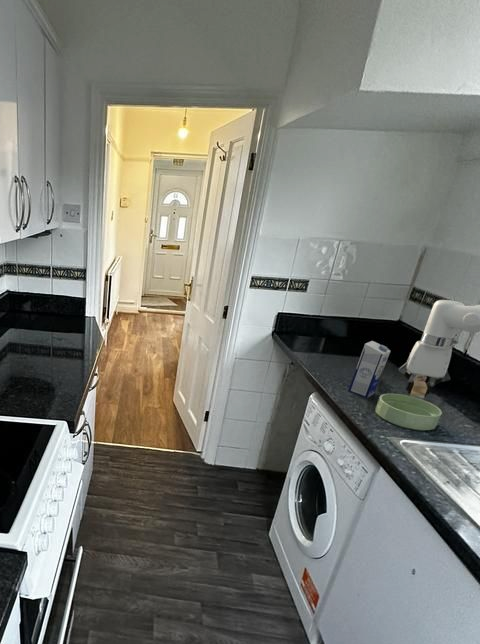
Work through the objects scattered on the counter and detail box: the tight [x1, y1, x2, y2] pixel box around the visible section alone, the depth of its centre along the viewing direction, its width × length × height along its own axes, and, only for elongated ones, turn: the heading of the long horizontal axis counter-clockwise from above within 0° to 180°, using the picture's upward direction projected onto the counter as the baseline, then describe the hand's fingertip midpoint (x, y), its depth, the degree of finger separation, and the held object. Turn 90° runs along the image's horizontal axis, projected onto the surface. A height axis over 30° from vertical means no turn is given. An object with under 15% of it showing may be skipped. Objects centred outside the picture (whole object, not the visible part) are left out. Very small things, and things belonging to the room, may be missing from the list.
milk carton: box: [347, 340, 391, 399], centre depth 154 cm, size 7×7×20 cm
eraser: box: [409, 380, 427, 399], centre depth 136 cm, size 4×6×4 cm, turn 149°
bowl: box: [374, 393, 443, 431], centre depth 139 cm, size 17×17×6 cm
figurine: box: [406, 370, 428, 382], centre depth 173 cm, size 7×7×12 cm
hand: (416, 393), depth 136 cm, fingers closed on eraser, 3 cm apart
